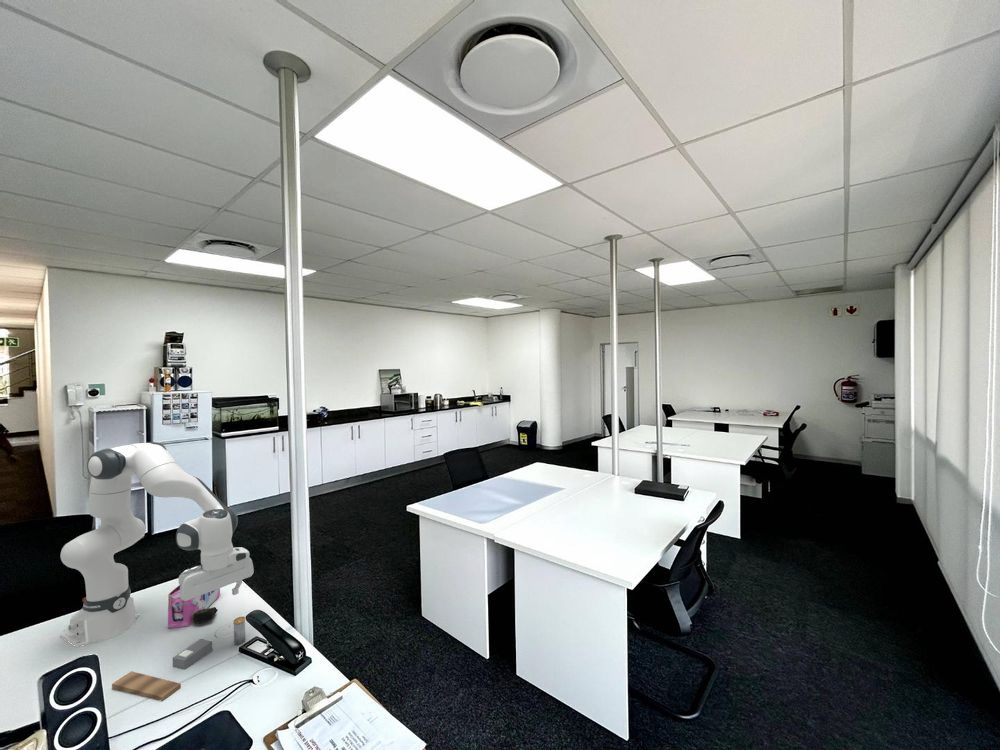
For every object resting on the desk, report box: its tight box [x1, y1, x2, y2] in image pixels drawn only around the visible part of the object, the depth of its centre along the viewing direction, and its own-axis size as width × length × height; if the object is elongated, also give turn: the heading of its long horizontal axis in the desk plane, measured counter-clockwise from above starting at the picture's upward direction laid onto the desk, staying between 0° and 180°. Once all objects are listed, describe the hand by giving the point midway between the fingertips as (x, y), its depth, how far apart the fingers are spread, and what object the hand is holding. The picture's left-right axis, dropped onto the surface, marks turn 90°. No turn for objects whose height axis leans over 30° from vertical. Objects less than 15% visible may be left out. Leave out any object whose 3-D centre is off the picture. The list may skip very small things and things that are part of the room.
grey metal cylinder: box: [232, 616, 246, 646], centre depth 137 cm, size 3×3×9 cm
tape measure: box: [193, 606, 219, 624], centre depth 150 cm, size 7×7×4 cm
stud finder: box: [172, 638, 213, 671], centre depth 130 cm, size 5×9×4 cm, turn 164°
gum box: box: [167, 584, 221, 629], centre depth 156 cm, size 22×7×13 cm, turn 9°
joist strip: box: [111, 670, 182, 702], centre depth 117 cm, size 20×5×2 cm, turn 75°
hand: (219, 600), depth 132 cm, fingers open, 8 cm apart
